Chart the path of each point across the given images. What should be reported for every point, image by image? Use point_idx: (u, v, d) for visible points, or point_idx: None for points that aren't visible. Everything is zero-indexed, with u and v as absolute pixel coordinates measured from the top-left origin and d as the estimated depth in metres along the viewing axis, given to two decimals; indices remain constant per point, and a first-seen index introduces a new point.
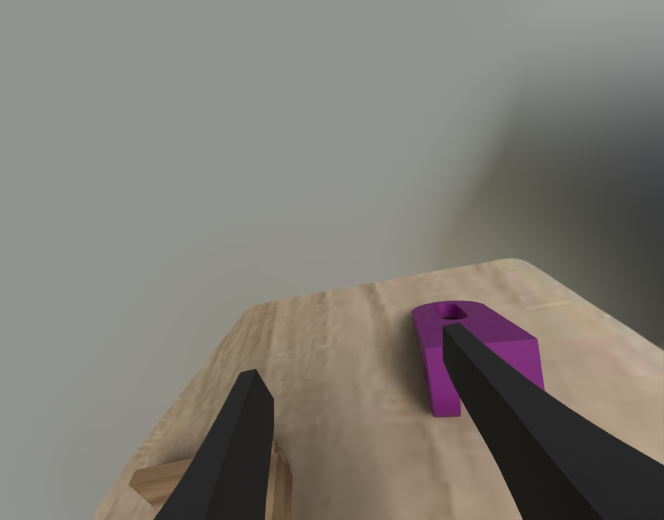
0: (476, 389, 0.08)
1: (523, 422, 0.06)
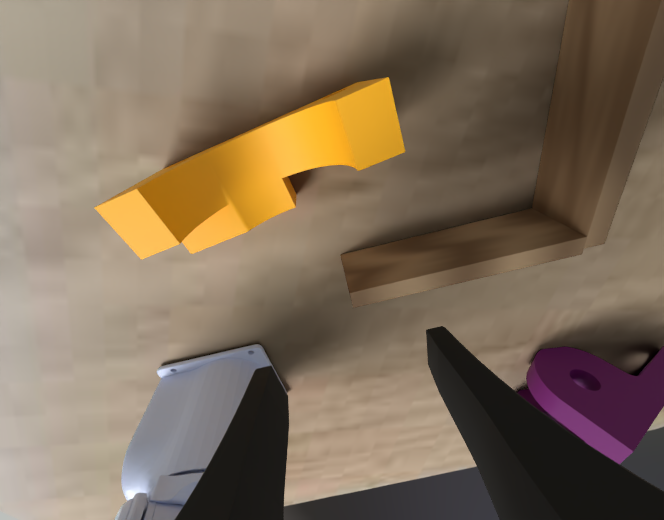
0: (457, 393, 0.08)
1: (497, 427, 0.06)
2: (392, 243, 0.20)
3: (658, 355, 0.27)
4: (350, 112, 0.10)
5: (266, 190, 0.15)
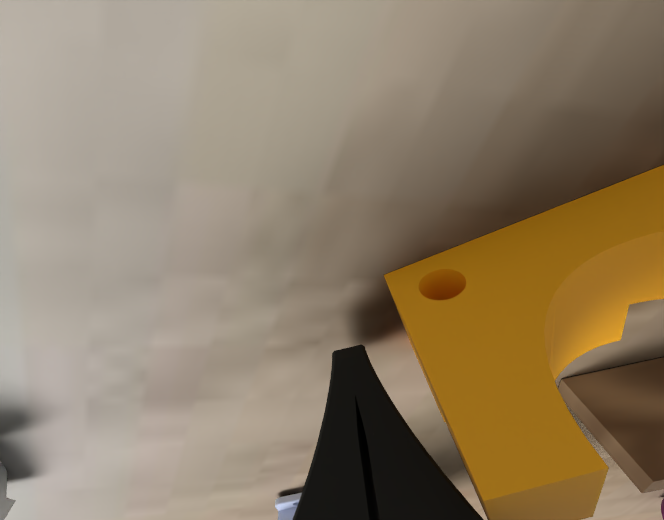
0: None
1: (370, 455, 0.06)
2: (639, 367, 0.14)
3: None
4: None
5: (592, 323, 0.09)
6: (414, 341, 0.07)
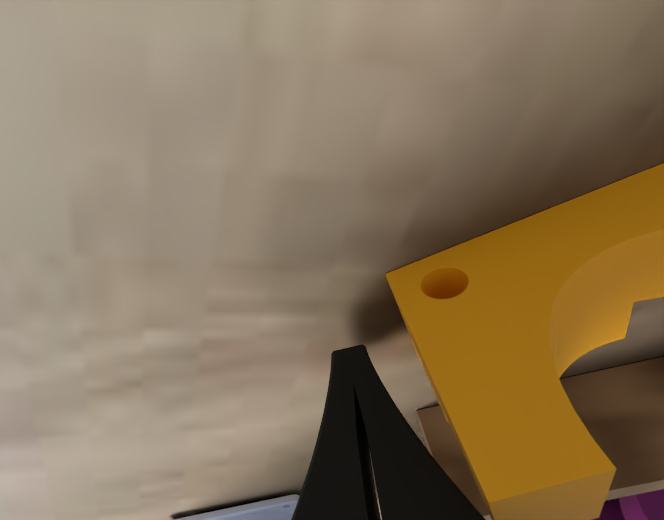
0: None
1: (371, 454, 0.06)
2: None
3: None
4: None
5: (596, 321, 0.09)
6: (416, 340, 0.07)
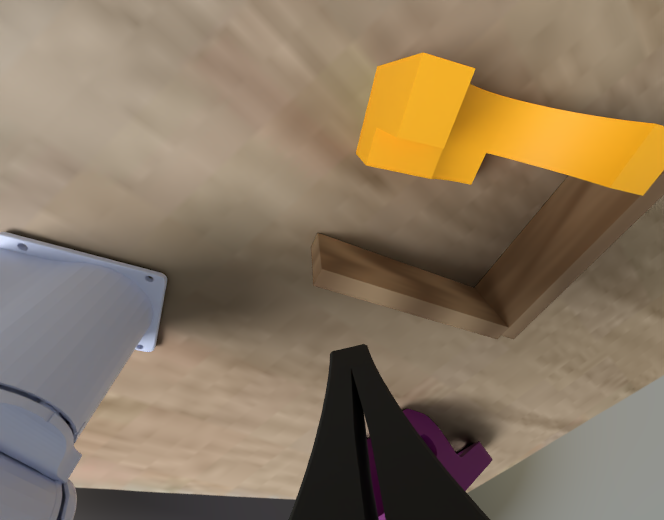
0: None
1: (374, 454, 0.06)
2: (367, 251, 0.20)
3: (476, 446, 0.34)
4: (652, 140, 0.11)
5: (466, 154, 0.15)
6: (394, 61, 0.12)
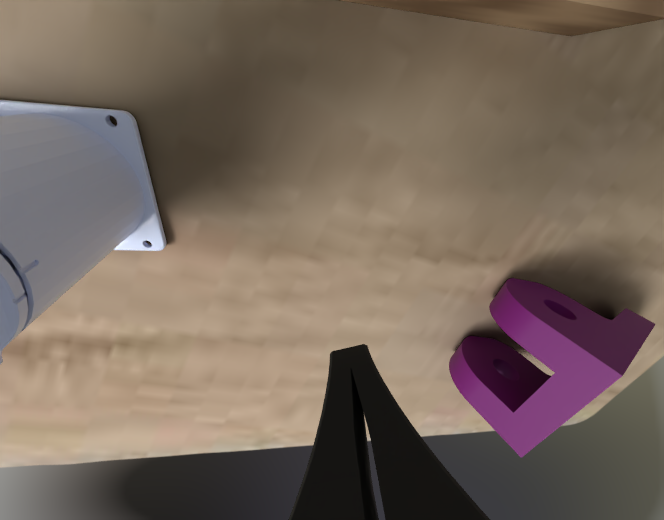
0: None
1: (374, 454, 0.06)
2: None
3: (625, 311, 0.24)
4: None
5: None
6: None
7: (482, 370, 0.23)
